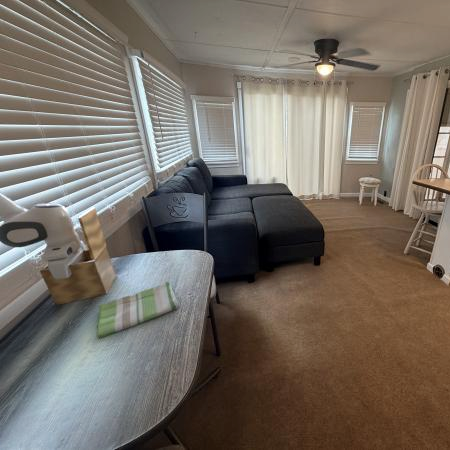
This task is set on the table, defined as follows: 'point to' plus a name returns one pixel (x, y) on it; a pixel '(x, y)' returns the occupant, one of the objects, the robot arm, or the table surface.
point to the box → (82, 279)
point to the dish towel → (135, 309)
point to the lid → (92, 232)
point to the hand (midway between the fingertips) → (78, 276)
